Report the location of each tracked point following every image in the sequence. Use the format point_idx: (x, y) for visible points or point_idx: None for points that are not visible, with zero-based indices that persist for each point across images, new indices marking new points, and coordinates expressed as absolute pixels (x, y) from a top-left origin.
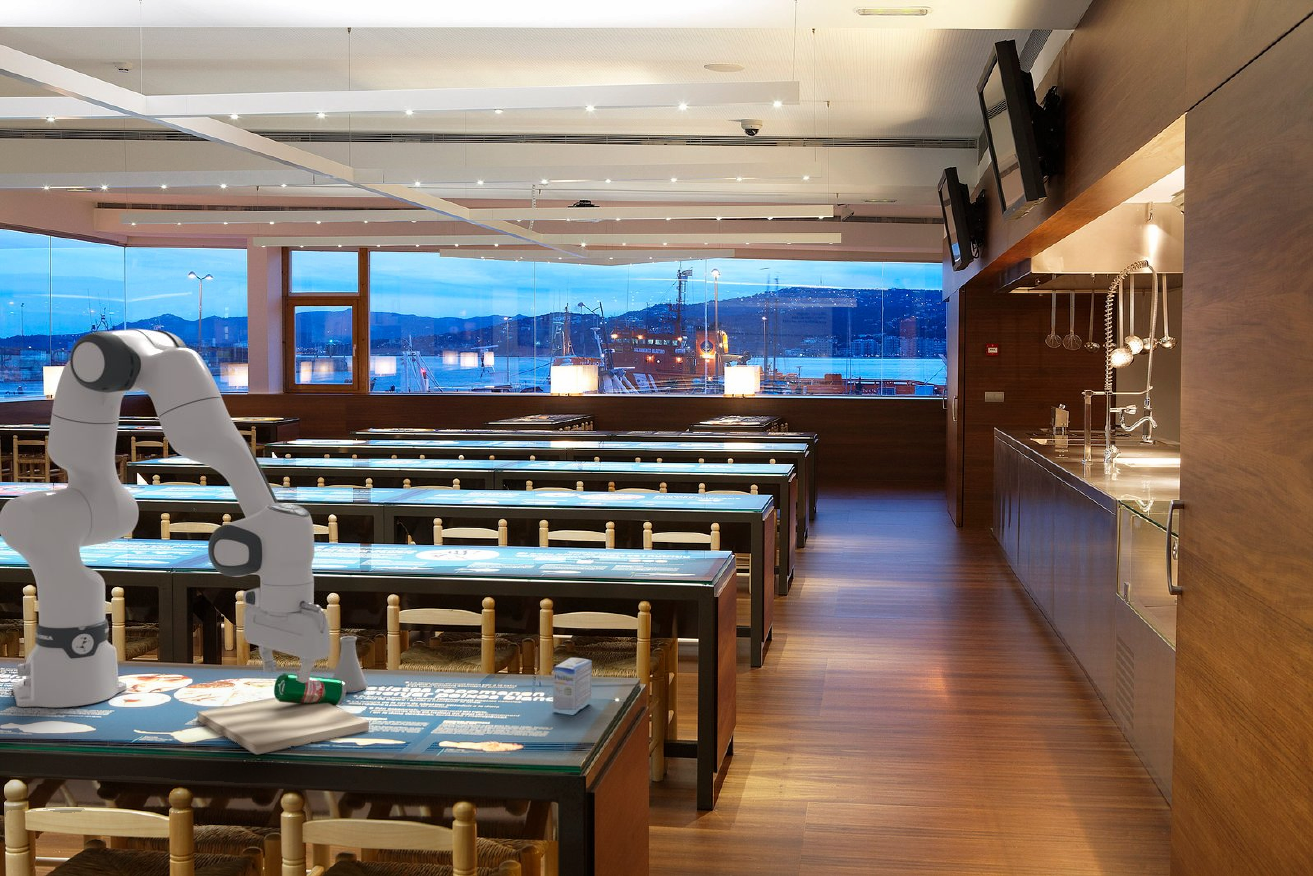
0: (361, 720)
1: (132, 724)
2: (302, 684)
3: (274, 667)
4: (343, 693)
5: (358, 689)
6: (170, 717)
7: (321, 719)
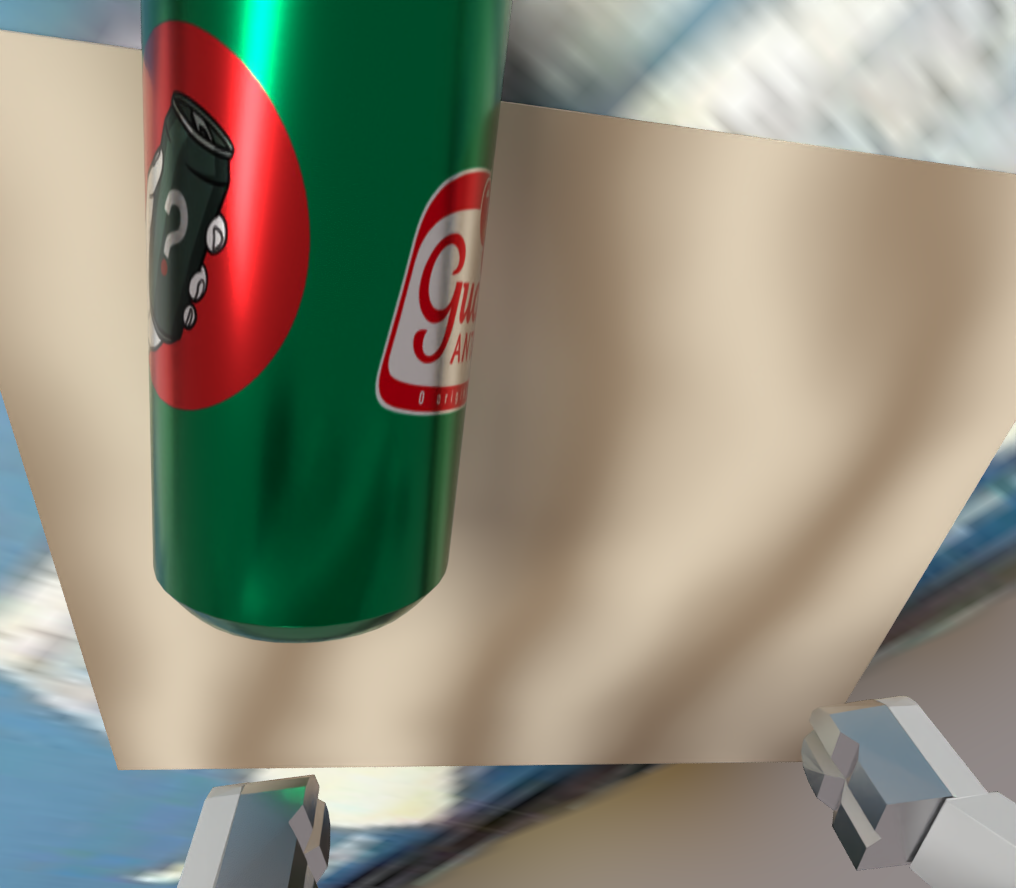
0: None
1: (51, 873)
2: (447, 452)
3: (304, 828)
4: None
5: None
6: (7, 778)
7: (791, 406)
